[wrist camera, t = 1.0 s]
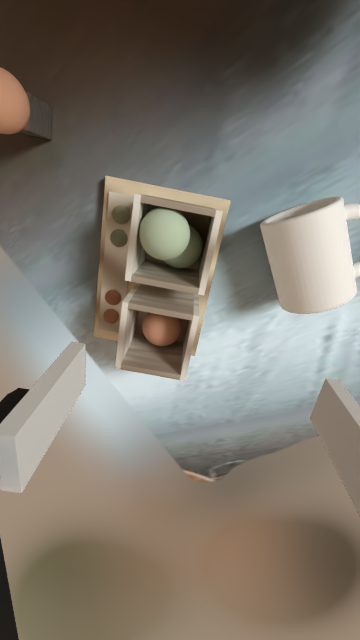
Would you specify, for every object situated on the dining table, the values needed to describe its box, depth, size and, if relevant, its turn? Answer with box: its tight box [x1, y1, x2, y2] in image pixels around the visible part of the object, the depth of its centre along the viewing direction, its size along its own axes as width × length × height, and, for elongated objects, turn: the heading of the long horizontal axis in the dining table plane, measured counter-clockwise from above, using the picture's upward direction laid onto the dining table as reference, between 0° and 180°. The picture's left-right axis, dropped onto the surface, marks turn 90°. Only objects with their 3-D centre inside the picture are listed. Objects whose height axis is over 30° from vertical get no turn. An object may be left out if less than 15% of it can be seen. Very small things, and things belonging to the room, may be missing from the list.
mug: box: [260, 197, 360, 314], centre depth 31 cm, size 12×10×8 cm
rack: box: [94, 176, 230, 381], centre depth 33 cm, size 20×14×9 cm
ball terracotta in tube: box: [142, 313, 182, 346], centre depth 36 cm, size 5×5×5 cm
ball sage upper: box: [139, 207, 190, 260], centre depth 27 cm, size 5×5×5 cm
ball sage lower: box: [164, 225, 202, 268], centre depth 32 cm, size 5×5×5 cm
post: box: [19, 92, 52, 140], centre depth 29 cm, size 3×3×5 cm
